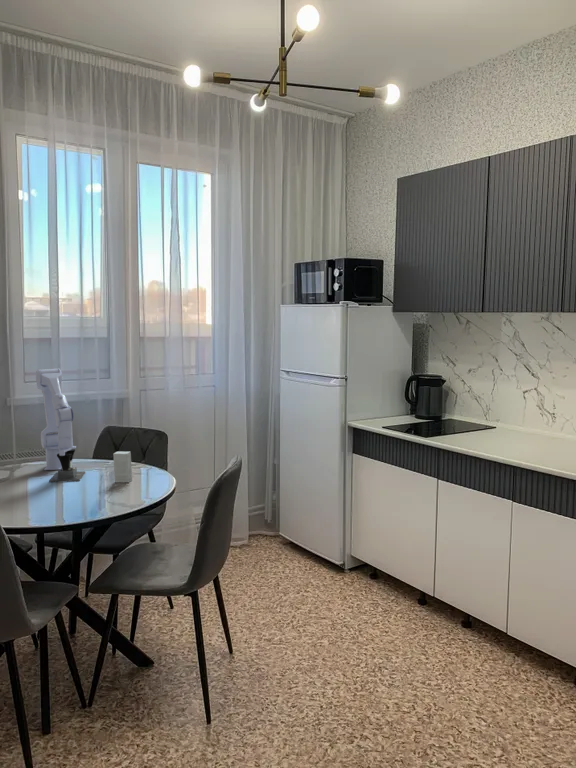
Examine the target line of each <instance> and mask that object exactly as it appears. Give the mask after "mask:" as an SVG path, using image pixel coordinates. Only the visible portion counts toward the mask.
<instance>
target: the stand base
mask: <svg viewBox="0 0 576 768" xmlns="http://www.w3.org/2000/svg"><path fill="white" fill-rule="evenodd" d="M77 468H78V467H77V466H74V467H73V466H72V471H62V468H61V469H60V470H58V471H57V472H55V473H54V474H53V475H52V477H51V478H50V479H48V482H49V483H56V482H55V481H67V482H80V481H81V480H80V479H82V478H84V476H85V474H86V471H85V470H84V471H83V470H81V471H77V470H78V469H77ZM83 475H84V476H83Z"/></svg>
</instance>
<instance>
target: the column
mask: <svg viewBox="0 0 576 768" xmlns="http://www.w3.org/2000/svg"><path fill="white" fill-rule="evenodd" d="M72 467H73V459H72V460H70V462H69V470H63V469H62V471H72Z"/></svg>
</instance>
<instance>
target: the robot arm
mask: <svg viewBox="0 0 576 768" xmlns="http://www.w3.org/2000/svg"><path fill="white" fill-rule="evenodd" d="M62 380H63V372H62V370H61V369H60V368H59V367H57V368H49V369H48V368H47V369H45V368H44V369H37V370H36V373H35V381H36V387H37V389H38V390H40V391H41V392H42V397H43V398H42V399H43V405H44V415H45V416H44V417H45V423H46V427H45V428H44V429H43V430H41V432H40V445H41V448H43V449H44V450H45V462H46V463H45V465H46V466H45V467H44V469H43V471H57V470H58V471H59V470H60V469H61V468H62V469H63V470H69V462H70V460H72V461H73V458H74V454H75V452H76V449H77V445H74V440H73V434H74V433H73V420H74V411H73V408H72V407H71V405H69V403H68V399H67V397H66V396H65V394H63V393H62V390H61V384H62Z"/></svg>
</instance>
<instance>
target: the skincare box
mask: <svg viewBox="0 0 576 768" xmlns="http://www.w3.org/2000/svg"><path fill="white" fill-rule="evenodd" d="M112 455H113V471H114V473H113V476H114V483H130V482H131V481H132V480H133V473H132V472H133V471H132V470H133V469H132V453H131V451H115V452H114V453H113V454H112Z"/></svg>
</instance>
